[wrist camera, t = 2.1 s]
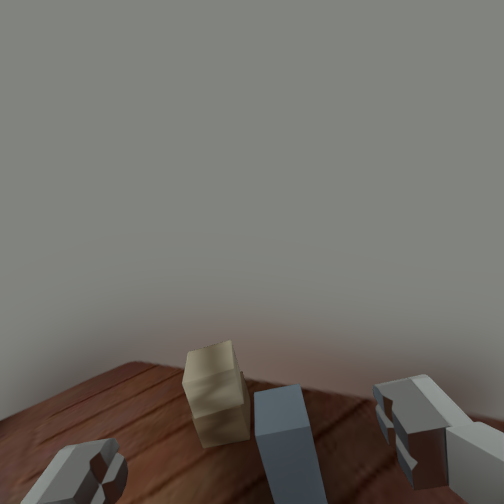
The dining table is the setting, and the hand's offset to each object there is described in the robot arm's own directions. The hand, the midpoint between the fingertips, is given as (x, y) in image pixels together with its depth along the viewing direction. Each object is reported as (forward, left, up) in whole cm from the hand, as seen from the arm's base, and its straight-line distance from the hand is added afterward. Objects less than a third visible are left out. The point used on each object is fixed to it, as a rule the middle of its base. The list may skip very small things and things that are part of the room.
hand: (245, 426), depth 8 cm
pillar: (0, +12, -22) cm, 25 cm away
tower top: (-8, +21, -17) cm, 28 cm away
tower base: (-8, +21, -22) cm, 32 cm away
